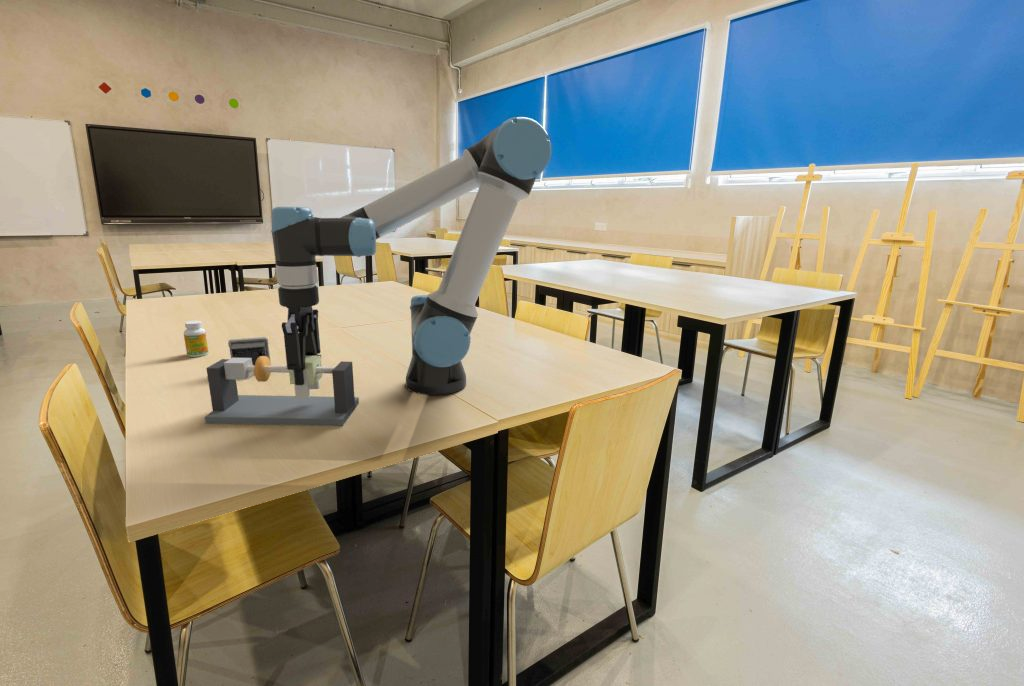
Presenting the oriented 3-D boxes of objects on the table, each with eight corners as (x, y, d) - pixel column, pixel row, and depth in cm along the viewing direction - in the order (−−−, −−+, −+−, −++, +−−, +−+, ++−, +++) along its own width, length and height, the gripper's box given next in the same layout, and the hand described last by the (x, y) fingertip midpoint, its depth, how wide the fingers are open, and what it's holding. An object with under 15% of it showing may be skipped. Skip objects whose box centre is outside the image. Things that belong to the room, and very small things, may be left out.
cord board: (358, 403, 116) (355, 350, 113) (342, 425, 105) (338, 367, 101) (235, 401, 116) (228, 347, 112) (205, 423, 104) (196, 364, 101)
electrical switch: (271, 366, 140) (267, 334, 137) (271, 373, 136) (267, 341, 132) (233, 369, 137) (228, 337, 133) (231, 377, 132) (226, 344, 129)
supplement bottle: (189, 358, 144) (183, 325, 142) (185, 354, 148) (180, 321, 146) (210, 355, 148) (205, 322, 145) (206, 350, 152) (201, 319, 149)
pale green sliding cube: (322, 376, 111) (320, 355, 109) (314, 384, 106) (312, 362, 105) (299, 376, 111) (297, 355, 109) (290, 384, 106) (288, 362, 105)
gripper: (296, 278, 111) (305, 378, 118) (258, 293, 94) (271, 409, 101) (331, 279, 112) (338, 379, 118) (299, 294, 94) (310, 410, 101)
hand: (307, 392), depth 109 cm, fingers closed on pale green sliding cube, 5 cm apart
